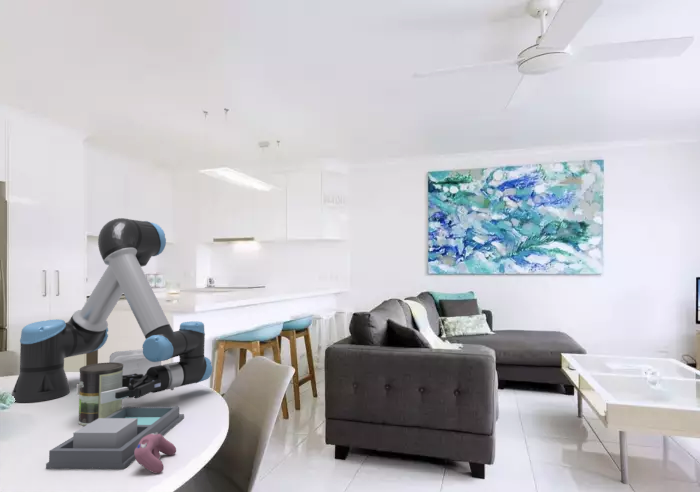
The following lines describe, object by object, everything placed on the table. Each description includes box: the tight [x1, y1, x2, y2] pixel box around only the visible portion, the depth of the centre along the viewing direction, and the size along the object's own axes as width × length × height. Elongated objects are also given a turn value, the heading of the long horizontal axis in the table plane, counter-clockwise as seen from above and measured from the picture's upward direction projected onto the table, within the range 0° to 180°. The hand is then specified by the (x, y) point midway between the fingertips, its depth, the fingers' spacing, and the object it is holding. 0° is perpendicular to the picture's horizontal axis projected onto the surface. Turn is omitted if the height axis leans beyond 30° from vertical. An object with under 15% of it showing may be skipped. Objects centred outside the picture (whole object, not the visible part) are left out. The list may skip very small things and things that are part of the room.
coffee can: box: [77, 361, 123, 427], centre depth 119 cm, size 10×10×14 cm
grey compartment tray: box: [45, 406, 185, 470], centre depth 104 cm, size 16×30×6 cm, turn 179°
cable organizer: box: [109, 348, 162, 390], centre depth 153 cm, size 15×11×12 cm
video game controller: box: [134, 432, 177, 474], centre depth 91 cm, size 10×5×7 cm, turn 5°
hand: (88, 393), depth 116 cm, fingers open, 13 cm apart
